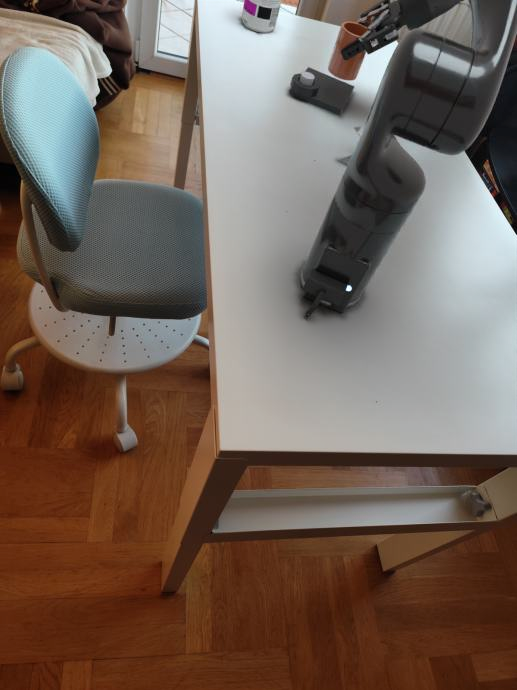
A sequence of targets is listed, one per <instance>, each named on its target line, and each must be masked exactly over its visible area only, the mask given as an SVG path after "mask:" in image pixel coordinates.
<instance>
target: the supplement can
mask: <svg viewBox="0 0 517 690" xmlns="http://www.w3.org/2000/svg"><path fill="white" fill-rule="evenodd" d="M281 5H282V0H244V1H243V6H242V12H241V21H242V22H243V25H244V26H245V27H246V28H248V29H249V30H251V31H253V32H256V33H262V34H266V33H267V34H268V33H271V32H272V31H274V30H275V29H276V25H277V21H278V17H279V12H280V9H281Z"/></svg>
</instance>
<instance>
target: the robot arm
mask: <svg viewBox="0 0 517 690" xmlns="http://www.w3.org/2000/svg"><path fill="white" fill-rule="evenodd" d="M464 1H465V0H394V1H391V0H380V1H379V2H377V3H376V4H375V5H373V6H371V7H370V8H368V9H367V10H365V11H364V12H362V13H361V14H360V15H359V19H358V20H357V21H356V23H359V24H361V25H364V26H365V27H367V28H368V30H367V32H366V33H365V34H363V35H362V36H361V37H360V38H359V39H356V40H355V41H353V42H351V43H350V44H348V45H346V46H345V47H343V48H341V54H342V57H343V59H344V60H345V61H346V60H348V59H350V58H352V57H354V56H355V55H357V54H359V53H361V52H362V51H364V52H366V54H367V55H371V54H373V53H375V52H377V51H379V50H381V49H382V48H384V47H387V46H388V45H390V44H392V43H394V42H396V41H398V40H399V39H400V36H399V32H398V31H399V30H401V29H402V28H403V27H404V26H406V28H407V30H408V32H406V33H405V34H404V36H403V37H402V38H401V39H400V41H399V42H398V44H397V45H396V47H395V49H394V51H393V52H392V55H391V57H390V59H389V61H388V63H387V65H386V68H385V70H384V73H383V75H382V77H381V81H380V83H379V85H378V89H377V91H376V94H375V97H374V99H373V102H372V105H371V108H370V111H369V113H368V117H367V119H366V121H365V125H364V126H363V129H362V132H361V134H360V135H361V137H360V136H359V138H358V141H357V144H356V146H355V148H354V151H353V152H352V154H351V155H352V157H351V159H350V161H349V163H348V165H346V168H345V170H344V172H343V175H342V176H341V179H340V181H339V183H338V186H337V189H336V191H335V193H334V195H333V197H332V200H331V202H330V204H329V206H328V209H327V211H326V213H325V216H324V219H323V220H322V222H321V225H320V228H319V230H318V232H317V235H316V237H315V239H314V241H313V244H312V247H311V248H310V251H309V253H308V256H307V258H306V261H305V262H304V264H303V266H302V268H301V271H300V274H299V275H300V276H299V281H300V285H301V287H302V291H303V294H302V296H303V297H304V298H306V299H308V300H310V301H312V302H313V303H312V304H311V306H310V307H309V308H308V309H307V310H306V311H305V313H304V314H305V316H306V317H311V315H312V314H313V313H314V312H315V311H316V309H317V308H318V307H319V305H322V306H324V307H327V308H329V309H331V310H333V311H336V312H338V313H341V314H344V312H345V311H346V310H347V309H349V308H351V307H353V306H356V304H357V303H358V302H359V300H360V299H361V298H362V296H363V293H364V291H365V289H366V288H367V286H368V285H369V283H370V282H371V280H372V277H374V275H375V273H376V271H377V269H378V268H379V266H380V265H381V263H382V261H383V260H384V258H385V256H386V255H387V253H388V252H389V250H390V248H391V246H392V245H393V243H394V241H395V240H396V238H397V237H398V235H399V233H400V232H401V230H402V229H403V227H404V225H405V223H406V222H407V220H408V219H409V216H410V215H411V213H412V212H413V210H414V208H415V207H416V205H417V204H418V202H419V201H420V199H421V197H422V195H423V194H424V192H425V188H426V182H427V179H426V175H425V172H424V171H423V169H422V167H421V165H420V164H419V163H418V162H417V160H416V159H415V158H414V157H412V156H411V154H410V153H408V151H406V150H405V148H403V146H402V145H401V144H400V143H399V140H398V139H397V138H396V137H398V138H401V139H403V140H406V141H409V142H411V143H414V144H416V145H419V146H421V147H423V148H426V149H429V150H431V151H435V152H437V153H440V154H443V155H446V156H457V155H460V154H463V153H464V152H466V150H468V149H469V148H470V147H471V146H472V145H473V143H474V142H475V141H476V139H477V138H478V137H479V135H480V133H481V132H482V130H483V128H484V126H485V125H486V122H487V120H488V118H489V117H490V115H491V112H492V110H493V108H494V106H495V105H494V104H495V103H496V99H497V97H498V94H499V92H500V88H501V85H502V83H503V79H504V77H505V73H506V70H507V66H508V64H509V61H510V57H511V53H512V50H513V47H514V44H515V41H516V37H517V0H468V4H469V10H470V18H471V34H470V35H471V37H470V45H469V46H468V45H465V44H463V43H460V42H457V41H455V40H453V39H450V38H447V37H445V36H443V35H440V34H437V33H435V32H432V31H430V30H427V29H424V28H421V27H423V26H424V25H426V24H428V23H430V22H431V21H433V20H435V19H436V18H438V17H440V16H442V15H444V14H446V13H447V12H449V11H450V10H452V9H454V8H455V7H456V6H457V5H459V4H460V3H461V2H464ZM308 314H309V315H308Z"/></svg>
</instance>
